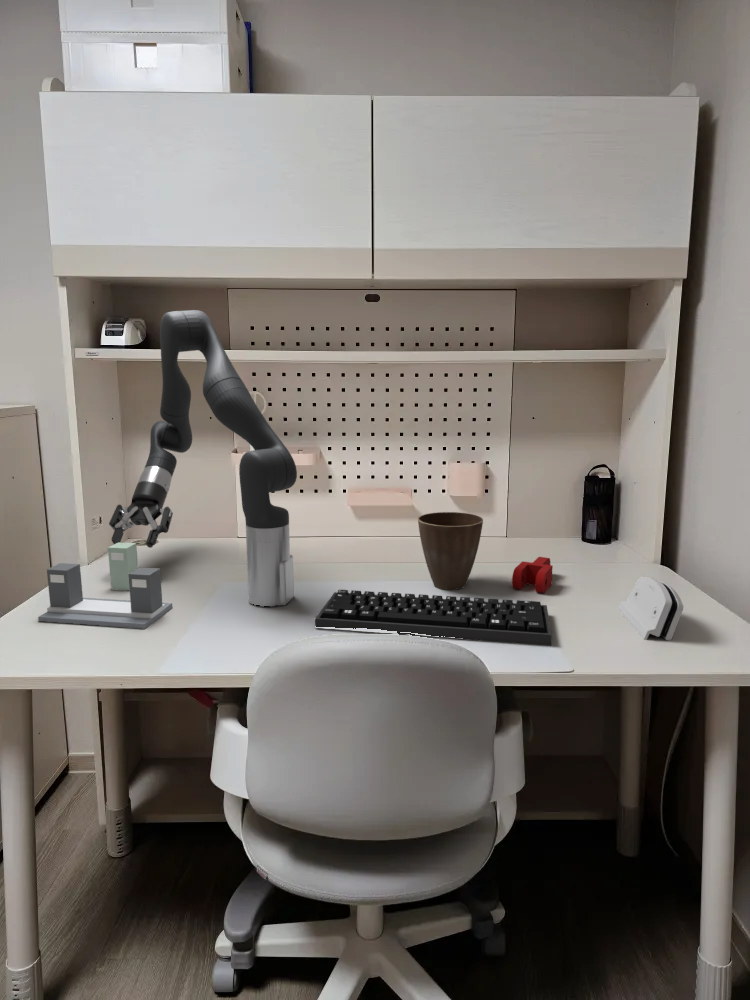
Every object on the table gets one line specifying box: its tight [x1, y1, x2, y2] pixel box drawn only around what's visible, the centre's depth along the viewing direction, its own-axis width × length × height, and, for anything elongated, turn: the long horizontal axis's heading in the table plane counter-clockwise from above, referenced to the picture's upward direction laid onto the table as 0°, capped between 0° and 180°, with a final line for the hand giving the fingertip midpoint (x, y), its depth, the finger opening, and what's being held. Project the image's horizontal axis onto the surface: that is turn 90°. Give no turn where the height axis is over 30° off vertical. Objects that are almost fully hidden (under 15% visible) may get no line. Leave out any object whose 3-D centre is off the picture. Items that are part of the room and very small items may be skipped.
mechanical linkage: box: [511, 556, 554, 594], centre depth 162 cm, size 16×7×5 cm, turn 152°
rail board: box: [37, 562, 173, 630], centre depth 141 cm, size 23×12×10 cm, turn 80°
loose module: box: [107, 542, 139, 591], centre depth 158 cm, size 4×5×10 cm
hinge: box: [616, 576, 684, 641], centre depth 136 cm, size 17×5×10 cm, turn 178°
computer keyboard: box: [314, 589, 552, 646], centre depth 138 cm, size 45×16×4 cm, turn 79°
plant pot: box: [417, 511, 484, 591], centre depth 159 cm, size 15×15×16 cm
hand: (132, 545), depth 162 cm, fingers open, 8 cm apart
